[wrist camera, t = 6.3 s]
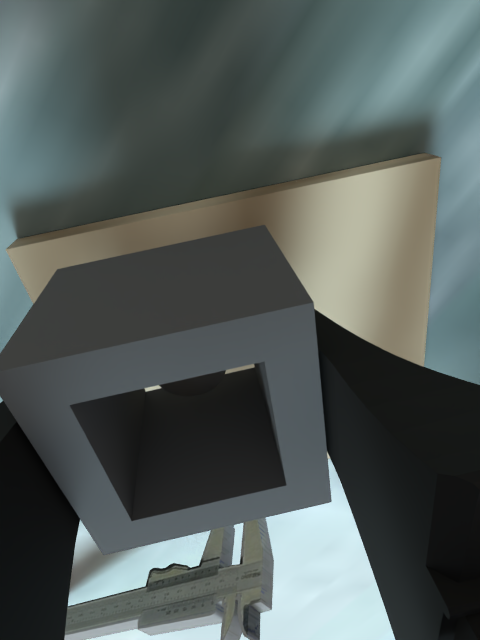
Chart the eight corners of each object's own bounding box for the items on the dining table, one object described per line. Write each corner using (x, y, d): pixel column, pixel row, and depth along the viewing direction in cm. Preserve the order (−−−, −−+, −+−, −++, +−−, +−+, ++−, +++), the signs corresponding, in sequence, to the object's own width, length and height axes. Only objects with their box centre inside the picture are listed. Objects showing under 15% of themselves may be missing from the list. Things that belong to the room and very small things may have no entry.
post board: (424, 152, 14) (538, 182, 9) (407, 423, 20) (469, 513, 16) (17, 239, 13) (-61, 311, 9) (136, 485, 20) (124, 594, 16)
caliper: (251, 488, 22) (276, 624, 16) (261, 498, 22) (288, 632, 17) (-25, 634, 25) (-82, 785, 20) (-11, 639, 26) (-63, 788, 20)
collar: (264, 224, 11) (313, 302, 7) (287, 383, 14) (331, 501, 10) (57, 269, 10) (-14, 374, 7) (125, 420, 13) (103, 554, 10)
